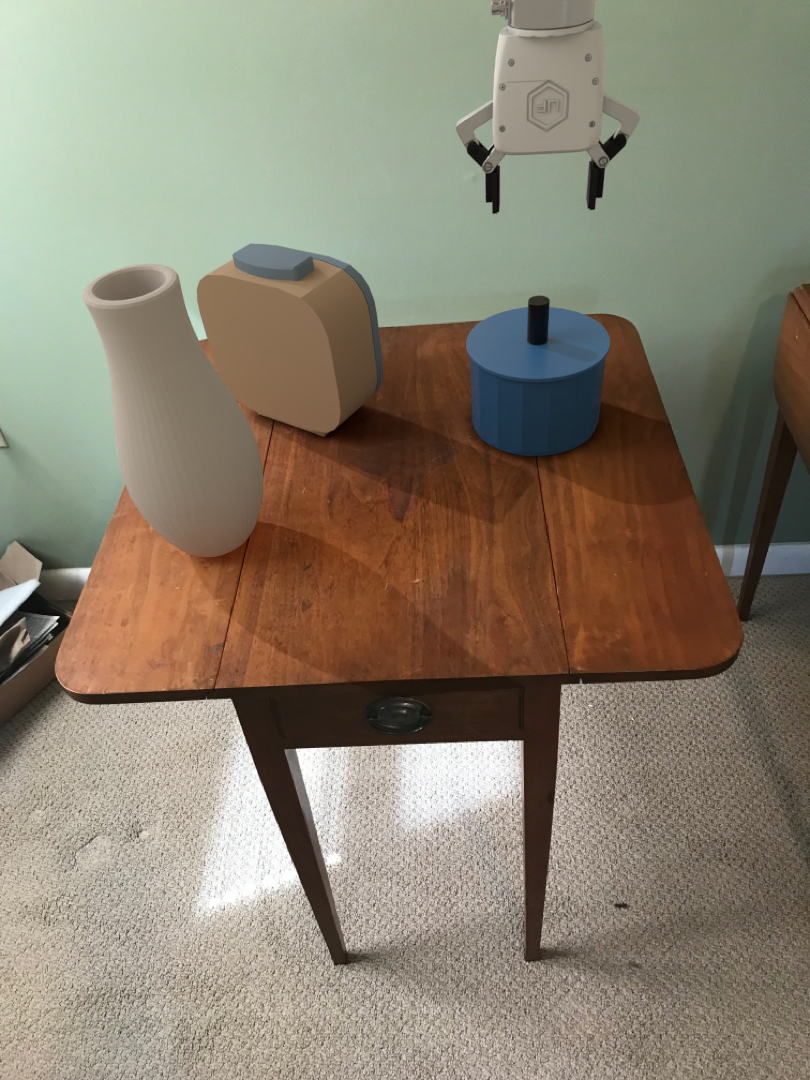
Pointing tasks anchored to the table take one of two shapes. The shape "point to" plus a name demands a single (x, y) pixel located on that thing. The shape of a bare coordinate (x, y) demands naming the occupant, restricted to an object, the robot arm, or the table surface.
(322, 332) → the alarm clock
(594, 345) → the lid
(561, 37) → the robot arm
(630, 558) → the table surface
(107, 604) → the table surface
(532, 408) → the pot
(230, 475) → the vase
